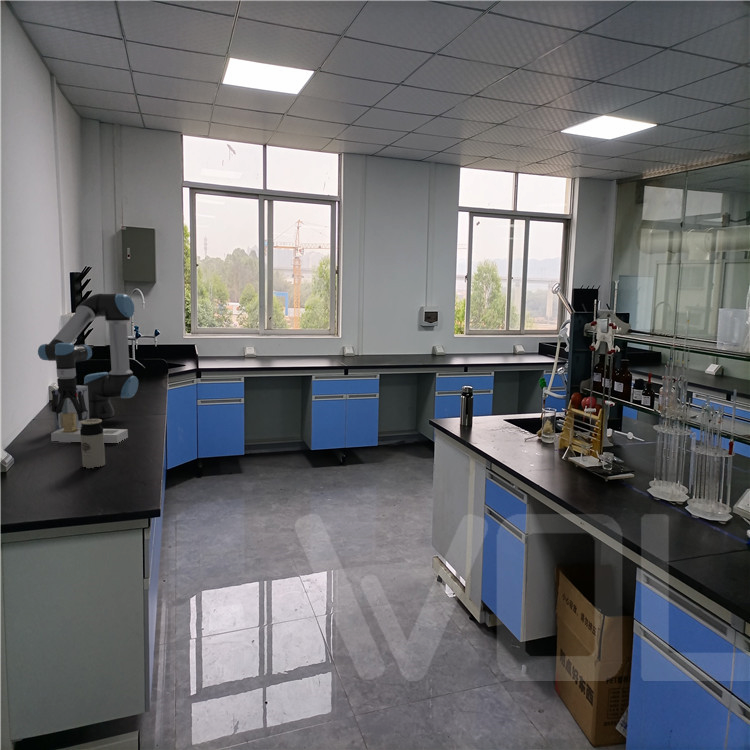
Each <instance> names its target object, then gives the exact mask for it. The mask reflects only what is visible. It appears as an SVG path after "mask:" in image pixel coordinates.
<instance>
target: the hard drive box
mask: <svg viewBox="0 0 750 750" xmlns="http://www.w3.org/2000/svg"><path fill="white" fill-rule="evenodd" d="M76 388H77V389H78V390H80V391H82V390H83V391H84V395H83V396H84V401H85V406H86V412H83V413H82V418H83V419H82V420H81V421H83V420H87V419H89V402H88V386H84V385H80V384H79V385H78V384H77V385H76ZM55 390H58V388H57V389H55ZM76 396H77V400H78V395H77V393H76ZM59 398H60V394H59V393H58V403H59V400H60V399H59ZM78 402H79V400H78ZM62 412H63V414H65V413H68V412H70V413H77V412H76V410H75V407H74V405H73V403H72V401H71V400H70V398H66V399H65V402H64V405H63V408H62ZM53 420H54V421H53V422H54V432H55V431H57V430H60V429H62V428H63V427H62V428H59V420H57V415H56V413H55V412H53ZM80 428H82V425H81V427H80Z"/></svg>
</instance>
